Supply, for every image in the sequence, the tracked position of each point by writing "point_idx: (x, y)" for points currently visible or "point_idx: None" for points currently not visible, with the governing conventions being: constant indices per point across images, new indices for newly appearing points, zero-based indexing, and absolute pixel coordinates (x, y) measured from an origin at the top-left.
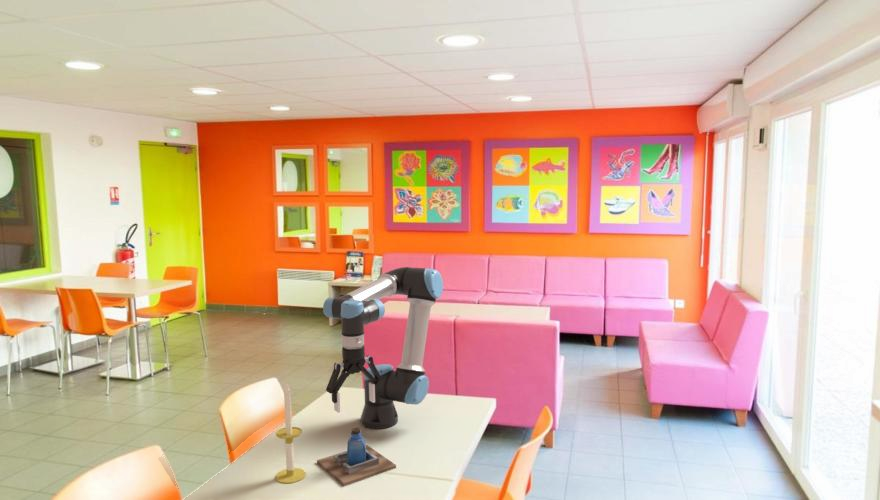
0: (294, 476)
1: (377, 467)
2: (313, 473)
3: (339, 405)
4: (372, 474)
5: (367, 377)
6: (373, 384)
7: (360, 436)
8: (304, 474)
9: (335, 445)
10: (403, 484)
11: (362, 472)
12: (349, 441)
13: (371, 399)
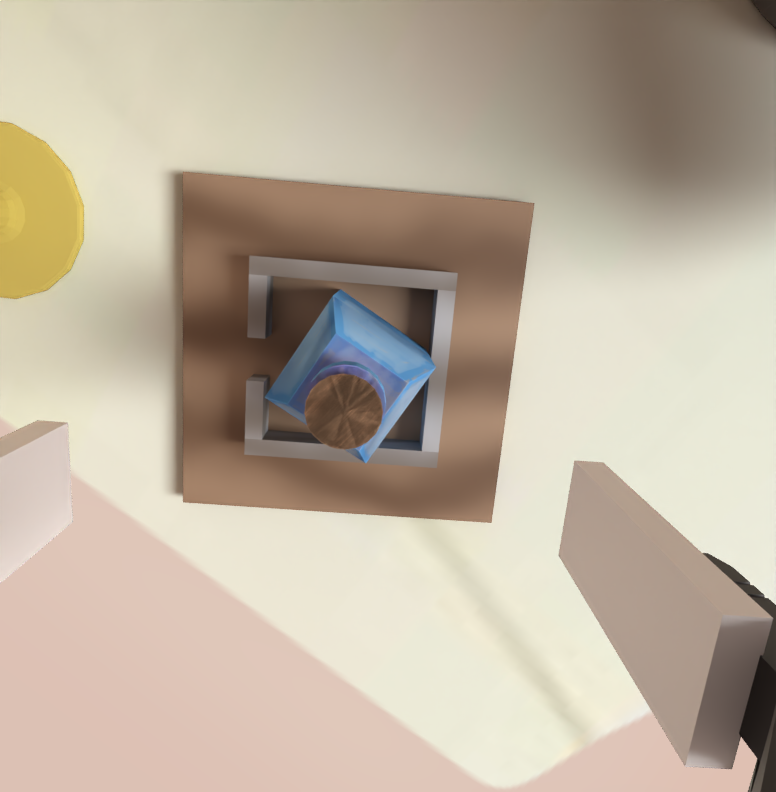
0: (5, 245)
1: (404, 481)
2: (118, 275)
3: (8, 568)
4: (349, 509)
5: (759, 780)
6: (708, 760)
7: (390, 385)
8: (62, 263)
9: (400, 32)
10: (412, 651)
11: (314, 474)
12: (303, 367)
13: (575, 531)
